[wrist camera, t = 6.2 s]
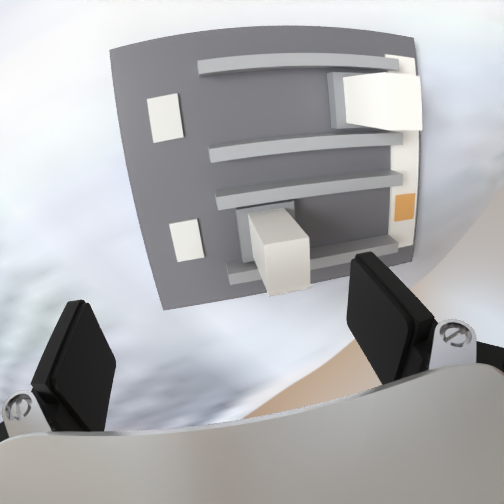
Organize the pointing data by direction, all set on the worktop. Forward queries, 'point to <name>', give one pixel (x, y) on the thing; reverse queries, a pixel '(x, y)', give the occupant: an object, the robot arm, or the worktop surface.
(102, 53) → the worktop surface
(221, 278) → the switch unit
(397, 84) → the switch
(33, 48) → the worktop surface
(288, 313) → the worktop surface
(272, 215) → the switch
